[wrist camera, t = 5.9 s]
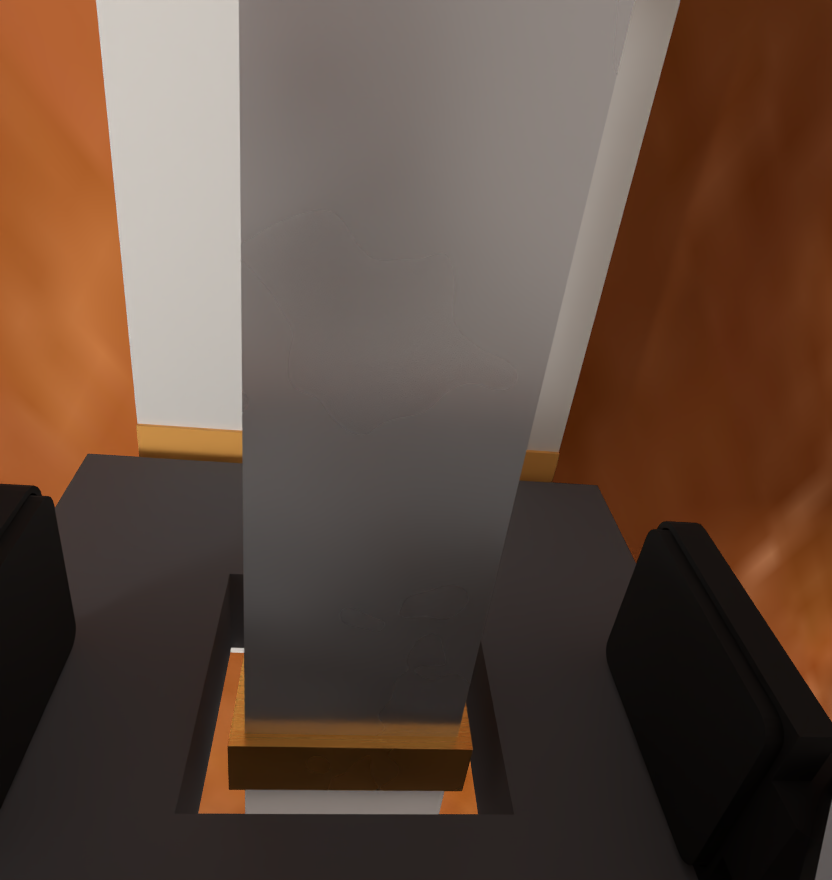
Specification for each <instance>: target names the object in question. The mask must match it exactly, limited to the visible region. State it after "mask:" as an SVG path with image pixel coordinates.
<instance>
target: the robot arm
mask: <svg viewBox="0 0 832 880" xmlns="http://www.w3.org/2000/svg"><path fill="white" fill-rule="evenodd" d="M75 634H76V622H75V617H74V611H73V606H72V600H71V595H70V589H69V584H68V578H67V573H66V567H65V562H64V556H63V551H62V545H61V540H60V534H59V529H58V523H57V518H56V512H55V507H54V503H53V500H52V498H51V497H49V496H42V494H41V491H40V490H39V488H38V487H36V486H30V485H12V484H0V809H1V807H2V804H3V802H4V800H5V798H6V795H7V793H8V791H9V789H10V787H11V784H12V782H13V780H14V778H15V775H16V773H17V771H18V769H19V766H20V764H21V762H22V760H23V757H24V755H25V753H26V751H27V748H28V746H29V744H30V742H31V739H32V737H33V735H34V733H35V731H36V728H37V726H38V724H39V722H40V719H41V717H42V715H43V713H44V710H45V708H46V706H47V704H48V701H49V699H50V697H51V695H52V692H53V690H54V688H55V686H56V684H57V681H58V679H59V677H60V675H61V672H62V670H63V668H64V666H65V663H66V661H67V659H68V657H69V654H70V652H71V650H72V647H73V644H74V640H75ZM606 658H607V663H608V666H609V669H610V672H611V674H612V677H613V680H614V682H615V685H616V688H617V690H618V693H619V696H620V698H621V701H622V704H623V706H624V709H625V712H626V714H627V717H628V720H629V722H630V725H631V728H632V730H633V733H634V735H635V738H636V741H637V743H638V746H639V749H640V751H641V754H642V757H643V759H644V762H645V765H646V767H647V770H648V773H649V775H650V778H651V781H652V783H653V786H654V789H655V791H656V794H657V797H658V799H659V802H660V805H661V807H662V810H663V813H664V815H665V818H666V821H667V823H668V826H669V829H670V831H671V834H672V837H673V839H674V842H675V845H676V847H677V850H678V852H679V854H680V857H681V858H682V860H683V861H684V862H685V863H686V864H688V865H693V867H694V870H695V872H696V875H697V877H698V880H832V722H831V720H830V719H829V717H828V716H827V714H826V713H825V711H824V710H823V708H822V706H821V705H820V703H819V702H818V700H817V699H816V697H815V696H814V694H813V693H812V691H811V690H810V688H809V687H808V685H807V684H806V682H805V681H804V679H803V678H802V676H801V675H800V673H799V672H798V670H797V668H796V667H795V665H794V664H793V662H792V661H791V659H790V658H789V656H788V655H787V653H786V652H785V650H784V649H783V647H782V646H781V644H780V643H779V641H778V640H777V638H776V637H775V635H774V634H773V632H772V630H771V629H770V627H769V626H768V624H767V623H766V621H765V620H764V618H763V617H762V615H761V614H760V612H759V611H758V609H757V608H756V606H755V605H754V603H753V602H752V600H751V599H750V597H749V596H748V594H747V592H746V591H745V589H744V588H743V586H742V585H741V583H740V582H739V580H738V579H737V577H736V576H735V574H734V573H733V571H732V570H731V568H730V567H729V565H728V564H727V562H726V561H725V559H724V558H723V556H722V554H721V553H720V551H719V550H718V548H717V547H716V545H715V544H714V542H713V541H712V539H711V538H710V536H709V535H708V533H707V532H706V530H705V529H704V528H703V526H702V525H701V524H698V523H688V522H671V521H665V522H662V523H661V524H660V525H659V527H658V528H657V529H653V530H651V531H650V532H649V533H648V535H647V537H646V539H645V542H644V545H643V547H642V550H641V553H640V555H639V558H638V561H637V563H636V566H635V569H634V571H633V574H632V577H631V579H630V582H629V585H628V587H627V590H626V593H625V595H624V598H623V601H622V603H621V606H620V609H619V611H618V614H617V617H616V619H615V622H614V625H613V627H612V630H611V633H610V635H609V638H608V641H607V645H606Z"/></svg>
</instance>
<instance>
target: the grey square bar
mask: <svg viewBox="0 0 832 880" xmlns="http://www.w3.org/2000/svg"><path fill="white" fill-rule="evenodd" d="M634 2H635V0H239V89H240V211H241V334H242V457H243V580H244V657H243V663H242V669H241V674H240V680H239V686H238V691H237V697H236V702H235V708H234V714H233V719H232V725H231V730H230V736H229V742H228V774H229V790H245V814H439V811H440V807H441V803H442V799H443V795H444V791H462V789H463V786H464V782H465V778H466V774H467V770H468V767H469V763H470V759H471V755H472V751H473V747H472V740H471V734H470V727H469V720H468V714H467V707H466V699H467V695H468V691H469V687H470V683H471V679H472V674H473V670H474V666H475V662H476V658H477V654H478V649H479V645H480V641H481V637H482V633H483V629H484V625H485V620H486V616H487V612H488V608H489V604H490V600H491V596H492V591H493V587H494V583H495V579H496V575H497V571H498V567H499V562H500V558H501V554H502V550H503V546H504V542H505V537H506V533H507V529H508V525H509V521H510V517H511V513H512V508H513V504H514V500H515V496H516V492H517V488H518V484H519V479H520V475H521V471H522V467H523V463H524V459H525V455H526V450H527V446H528V442H529V438H530V434H531V430H532V425H533V421H534V417H535V413H536V409H537V405H538V401H539V396H540V392H541V388H542V384H543V380H544V376H545V372H546V367H547V363H548V359H549V355H550V351H551V347H552V343H553V338H554V334H555V330H556V326H557V322H558V318H559V313H560V309H561V305H562V301H563V297H564V293H565V289H566V284H567V280H568V276H569V272H570V268H571V264H572V260H573V255H574V251H575V247H576V243H577V239H578V235H579V231H580V226H581V222H582V218H583V214H584V210H585V206H586V201H587V197H588V193H589V189H590V185H591V181H592V177H593V172H594V168H595V164H596V160H597V156H598V152H599V148H600V143H601V139H602V135H603V131H604V127H605V123H606V119H607V114H608V110H609V106H610V102H611V98H612V94H613V89H614V85H615V81H616V77H617V73H618V69H619V65H620V60H621V56H622V52H623V48H624V44H625V40H626V36H627V31H628V27H629V23H630V19H631V15H632V11H633V7H634Z"/></svg>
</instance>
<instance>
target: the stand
mask: <svg viewBox="0 0 832 880" xmlns="http://www.w3.org/2000/svg"><path fill="white" fill-rule="evenodd" d="M96 4H97V14H98V24H99V34H100V45H101V55H102V65H103V75H104V85H105V96H106V106H107V116H108V126H109V137H110V147H111V157H112V167H113V177H114V188H115V198H116V208H117V218H118V229H119V239H120V249H121V259H122V269H123V280H124V290H125V300H126V310H127V321H128V331H129V341H130V351H131V361H132V372H133V382H134V392H135V402H136V412H137V423H138V424H137V426H136V427H137V437H138V447H139V457H149V458H165V459H181V460H197V461H213V462H229V463H243V457H242V334H241V211H240V89H239V0H96ZM679 4H680V0H635V2H634V7H633V11H632V15H631V19H630V23H629V27H628V31H627V36H626V40H625V44H624V48H623V52H622V56H621V60H620V65H619V69H618V73H617V77H616V81H615V85H614V89H613V94H612V98H611V102H610V106H609V110H608V114H607V119H606V123H605V127H604V131H603V135H602V139H601V143H600V148H599V152H598V156H597V160H596V164H595V168H594V172H593V177H592V181H591V185H590V189H589V193H588V197H587V201H586V206H585V210H584V214H583V218H582V222H581V226H580V231H579V235H578V239H577V243H576V247H575V251H574V255H573V260H572V264H571V268H570V272H569V276H568V280H567V284H566V289H565V293H564V297H563V301H562V305H561V309H560V313H559V318H558V322H557V326H556V330H555V334H554V338H553V343H552V347H551V351H550V355H549V359H548V363H547V367H546V372H545V376H544V380H543V384H542V388H541V392H540V396H539V401H538V405H537V409H536V413H535V417H534V421H533V425H532V430H531V434H530V438H529V442H528V446H527V450H526V455H525V459H524V463H523V467H522V471H521V475H520V479H519V481H535V482H551V483H552V480H553V477H554V473H555V469H556V466H557V462H558V458H559V455H560V454H559V449H560V445H561V441H562V438H563V434H564V430H565V427H566V423H567V419H568V415H569V412H570V408H571V404H572V401H573V397H574V393H575V389H576V386H577V382H578V378H579V375H580V371H581V367H582V363H583V360H584V356H585V352H586V349H587V345H588V341H589V338H590V334H591V330H592V326H593V323H594V319H595V315H596V312H597V308H598V304H599V300H600V297H601V293H602V289H603V286H604V282H605V278H606V274H607V271H608V267H609V263H610V260H611V256H612V252H613V249H614V245H615V241H616V237H617V234H618V230H619V226H620V223H621V219H622V215H623V211H624V208H625V204H626V200H627V197H628V193H629V189H630V185H631V182H632V178H633V174H634V171H635V167H636V163H637V160H638V156H639V152H640V148H641V145H642V141H643V137H644V134H645V130H646V126H647V122H648V119H649V115H650V111H651V108H652V104H653V100H654V96H655V93H656V89H657V85H658V82H659V78H660V74H661V71H662V67H663V63H664V59H665V56H666V52H667V48H668V45H669V41H670V37H671V33H672V30H673V26H674V22H675V19H676V15H677V11H678V7H679ZM230 652H239V653H244V648H231V651H230Z"/></svg>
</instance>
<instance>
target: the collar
mask: <svg viewBox="0 0 832 880" xmlns="http://www.w3.org/2000/svg"><path fill="white" fill-rule="evenodd" d="M55 512H56V518H57V523H58V529H59V534H60V540H61V545H62V551H63V556H64V562H65V567H66V573H67V578H68V584H69V589H70V595H71V600H72V606H73V611H74V617H75V622H76V634H75V640H74V644H73V647H72V650H71V652H70V654H69V657H68V659H67V661H66V663H65V666H64V668H63V670H62V672H61V675H60V677H59V679H58V681H57V684H56V686H55V688H54V690H53V692H52V695H51V697H50V699H49V701H48V704H47V706H46V708H45V710H44V713H43V715H42V717H41V719H40V722H39V724H38V726H37V728H36V731H35V733H34V735H33V737H32V739H31V742H30V744H29V746H28V748H27V751H26V753H25V755H24V757H23V760H22V762H21V764H20V766H19V769H18V771H17V773H16V775H15V778H14V780H13V782H12V784H11V787H10V789H9V791H8V793H7V795H6V798H5V800H4V802H3V804H2V807H1V809H0V880H698V877H697V875H696V872H695V870H694V867H693V865H688V864H686V863H685V862H684V861H683V860H682V858H681V857H680V854H679V852H678V850H677V847H676V845H675V842H674V839H673V837H672V834H671V831H670V829H669V826H668V823H667V821H666V818H665V815H664V813H663V810H662V807H661V805H660V802H659V799H658V797H657V794H656V791H655V789H654V786H653V783H652V781H651V778H650V775H649V773H648V770H647V767H646V765H645V762H644V759H643V757H642V754H641V751H640V749H639V746H638V743H637V741H636V738H635V735H634V733H633V730H632V728H631V725H630V722H629V720H628V717H627V714H626V712H625V709H624V706H623V704H622V701H621V698H620V696H619V693H618V690H617V688H616V685H615V682H614V680H613V677H612V674H611V672H610V669H609V666H608V663H607V658H606V645H607V641H608V638H609V635H610V633H611V630H612V627H613V625H614V622H615V619H616V617H617V614H618V611H619V609H620V606H621V603H622V601H623V598H624V595H625V593H626V590H627V587H628V585H629V582H630V579H631V577H632V574H633V571H634V569H635V566H636V563H635V561H634V559H633V557H632V555H631V553H630V550H629V548H628V546H627V544H626V542H625V540H624V538H623V536H622V534H621V532H620V530H619V528H618V526H617V524H616V522H615V520H614V518H613V516H612V514H611V512H610V510H609V508H608V506H607V504H606V502H605V500H604V498H603V496H602V494H601V492H600V490H599V488H598V486H597V485H583V484H567V483H551V482H535V481H519V484H518V488H517V492H516V496H515V500H514V504H513V508H512V513H511V517H510V521H509V525H508V529H507V533H506V537H505V542H504V546H503V550H502V554H501V558H500V562H499V567H498V571H497V575H496V579H495V583H494V587H493V591H492V596H491V600H490V604H489V608H488V612H487V616H486V620H485V625H484V629H483V633H482V637H481V641H480V645H479V649H478V654H477V658H476V662H475V666H474V670H473V674H472V679H471V683H470V687H469V691H468V695H467V699H466V707H467V714H468V720H469V727H470V734H471V740H472V747H473V751H472V755H471V759H470V761H471V768H472V775H473V782H474V789H475V795H476V802H477V809H478V814H198V811H199V806H200V801H201V796H202V791H203V786H204V781H205V776H206V771H207V766H208V761H209V756H210V751H211V746H212V741H213V736H214V731H215V726H216V721H217V716H218V711H219V706H220V701H221V696H222V691H223V686H224V681H225V676H226V671H227V666H228V661H229V656H230V651H231V648H244V580H243V463H229V462H213V461H197V460H181V459H165V458H149V457H132V456H116V455H100V454H87V456H86V458H85V459H84V461H83V463H82V464H81V466H80V467H79V469H78V471H77V472H76V474H75V476H74V477H73V479H72V481H71V482H70V484H69V486H68V487H67V489H66V491H65V492H64V494H63V496H62V497H61V499H60V500H59V502H58V504H57V505H56V507H55Z"/></svg>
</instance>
